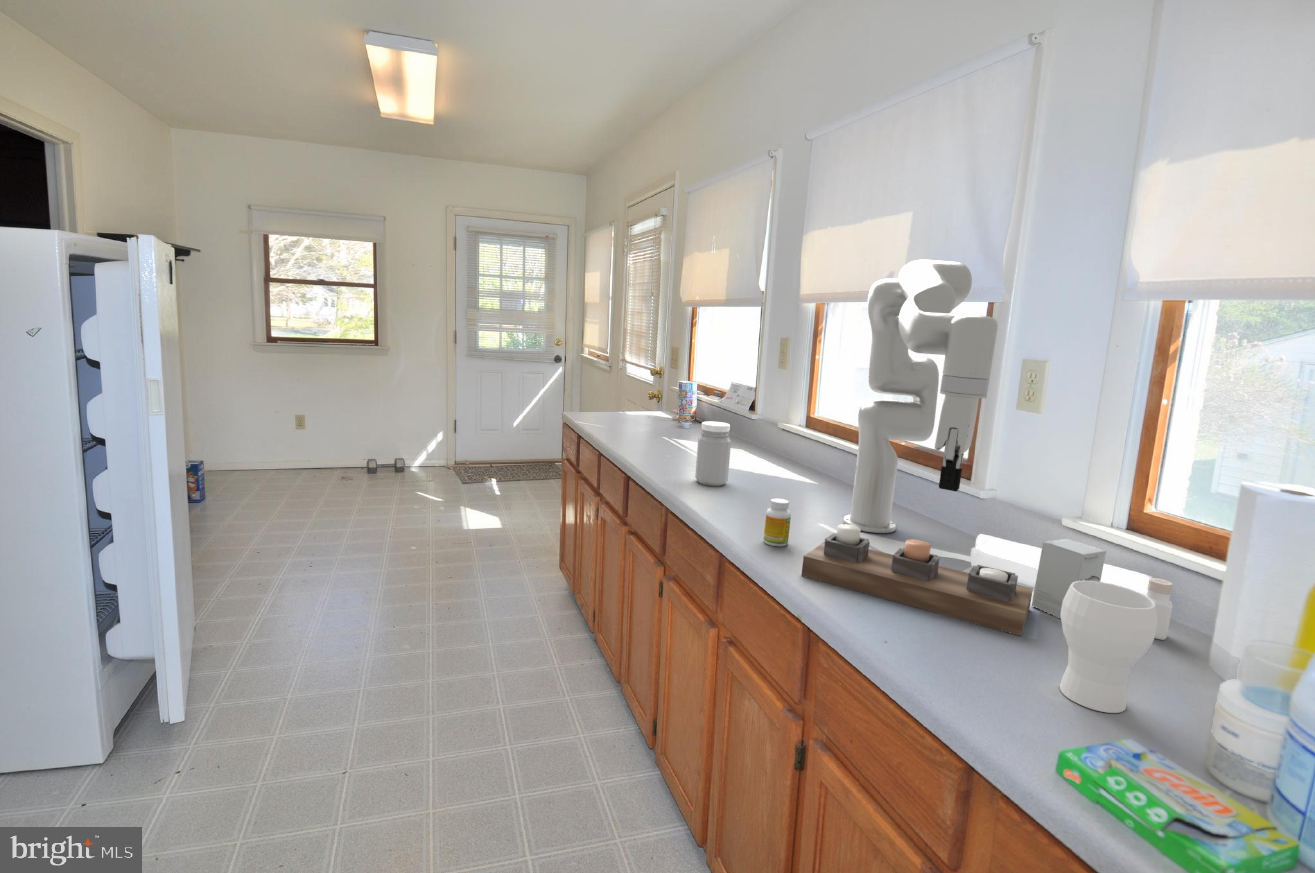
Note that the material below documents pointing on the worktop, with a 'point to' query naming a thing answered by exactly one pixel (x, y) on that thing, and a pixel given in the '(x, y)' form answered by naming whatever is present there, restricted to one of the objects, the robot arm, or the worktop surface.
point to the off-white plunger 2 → (993, 574)
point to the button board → (921, 584)
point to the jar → (713, 454)
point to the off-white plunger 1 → (848, 534)
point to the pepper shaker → (1161, 604)
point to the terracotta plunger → (917, 550)
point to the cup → (1104, 642)
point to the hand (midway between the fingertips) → (948, 488)
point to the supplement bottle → (777, 523)
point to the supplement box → (1064, 571)
